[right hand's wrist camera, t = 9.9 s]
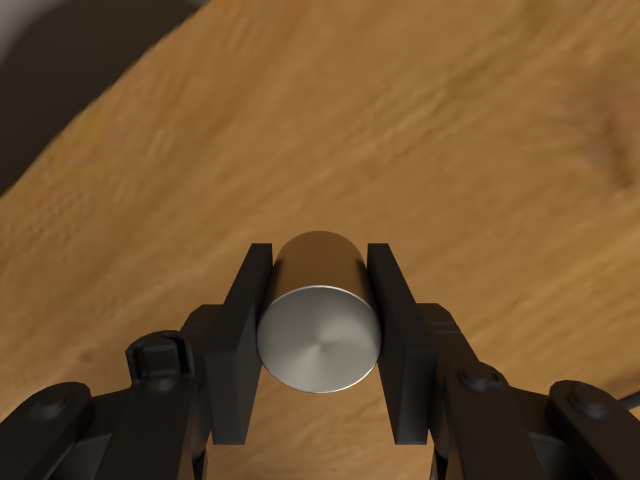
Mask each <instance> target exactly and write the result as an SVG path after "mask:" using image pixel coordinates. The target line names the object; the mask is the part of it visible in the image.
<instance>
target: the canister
mask: <svg viewBox="0 0 640 480" xmlns="http://www.w3.org/2000/svg"><path fill="white" fill-rule="evenodd" d="M383 339H384V336H383V329H382V325H381V321H380V317H379V314H378V310H377V306H376V303H375V299H374V296H373V292H372V288H371V285H370V281H369V277H368V274H367V270H366V266H365V263H364V260H363V257H362V255H361V253H360V252H359V250H358V249H357V248H356V246H355V245H354V244H353V243H352V242H350V241H349V240H348V239H346V238H344V237H343V236H341V235H338V234H336V233H332V232H327V231H312V232H307V233H303V234H301V235H298V236H296V237H295V238H293V239H291V240H290V241H289V242H287V243H286V244H285V245H284V246H283V248H282V249H281V250H280V252H279V253H278V255H277V257H276V260H275V263H274V266H273V270H272V273H271V277H270V280H269V284H268V287H267V291H266V295H265V298H264V302H263V305H262V309H261V312H260V316H259V319H258V323H257V327H256V348H257V353H258V355H259V358H260V360H261V362H262V364H263V365H264V367H265V368H266V369H267V371H268V372H269V373H270V374H271V375H272V376H273V377H274V378H276V379H277V380H278V381H280V382H281V383H283V384H285V385H286V386H289V387H291V388H293V389H296V390H300V391H304V392H309V393H329V392H335V391H339V390H342V389H345V388H348V387H350V386H352V385H354V384H356V383H357V382H359V381H360V380H362V379H363V378H364V377H366V376H367V375H368V374H369V373H370V371H371V370H372V369H373V368H374V366H375V365H376V363H377V361H378V359H379V357H380V354H381V352H382V348H383Z"/></svg>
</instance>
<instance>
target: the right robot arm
mask: <svg viewBox="0 0 640 480" xmlns="http://www.w3.org/2000/svg"><path fill="white" fill-rule="evenodd" d="M272 270H273V258H272V243H252V245H251V247H250V249H249V251H248V253H247V255H246V257H245V259H244V261H243V264H242V266H241V268H240V270H239V272H238V274H237V276H236V278H235V280H234V283H233V285H232V287H231V289H230V291H229V293H228V295H227V297H226V299H225V302H224V304H223V305H201V306H200V307H198V308H197V309H196V310H194V311H193V312H192V313H190V315H189V317H188V318H187V320H186V322H185V323H184V326H183V327H182V328H181V330H180V331H176V330H163V331H159V332H154V333H150V334H148V335H146V336H143V337H141V338H139V339H138V340H136V341H135V342H133V343H132V344H131V345H130V346H129V347H128V349H127V350H126V351H125V353H126V358H127V362H128V367H129V371H130V376H131V380H132V385H131V387H130V388H128V389H124V390H121V391H117V392H113V393H108V394H104V395H99V396H95V397H92V396H91V392H90V389H89V388H88V387H87V386H86V385H85V384H83V383H79V382H65V383H60V384H56V385H53V386H50V387H47V388H45V389H43V390H41V391H39V392H37V393H35V394H33V395H32V396H31V397H29V398H28V399H27V400H25V401H24V402H23V403H21V404H20V405H19V406H18V407H17V408H16V409H15V410H14V411H13V412H12V413H11V414H10V415H9V416H8V417H7V418H6V419H4V420H3V421H2V422H1V423H0V480H206V474H207V464H208V459H207V452H206V443H207V440H208V437H209V434H210V431H212V438H213V445H244V444H245V440H246V435H247V431H248V426H249V422H250V417H251V412H252V408H253V403H254V399H255V394H256V390H257V385H258V380H259V376H260V371H261V367H262V362H261V360H260V358H259V355H258V353H257V348H256V327H257V323H258V319H259V316H260V312H261V309H262V305H263V302H264V298H265V295H266V291H267V287H268V284H269V280H270V277H271V273H272ZM367 274H368V277H369V281H370V285H371V288H372V292H373V296H374V299H375V303H376V306H377V310H378V314H379V317H380V321H381V325H382V329H383V336H384V339H383V348H382V352H381V354H380V357H379V359H378V361H377V363H378V368H379V372H380V377H381V382H382V386H383V391H384V395H385V400H386V404H387V409H388V414H389V418H390V423H391V427H392V432H393V436H394V441H395V445H426V444H427V436H428V429H429V430H430V433H431V436H432V439H433V442H434V452H433V459H432V466H431V473H430V480H640V421H639V420H638V419H637V418H636V417H635V416H634V415H632V414H631V413H630V412H629V411H628V410H630V409H633V408H635V407H637V406H640V391H639V392H637V393H634V394H632V395H630V396H627V397H625V398H623V399H620V400H618V401H617V400H616V399H615V398H613V397H612V396H611V395H609V394H608V393H607V392H605V391H603V390H601V389H599V388H597V387H595V386H593V385H589V384H586V383H583V382H579V381H571V380H563V381H558V382H555V383H554V384H553V385H552V386H551V387H550V391H549V394H548V395H543V394H539V393H534V392H530V391H525V390H521V389H518V388H514V387H511V386H509V384H508V382H507V380H506V379H505V378H504V376H503V375H502V374H501V373H500V372H499V371H497V370H496V369H495V368H493V367H491V366H489V365H487V364H485V363H483V362H480V361H479V360H478V358H477V357H476V355H475V353H474V352H473V350H472V348H471V347H470V345H469V343H468V342H467V340H466V339H465V337H464V335H463V334H462V333H461V330H460V329H459V327H458V325H456V322H455V321H454V319H453V317H452V316H451V314H450V312H448V311H447V310H446V309H444V308H443V307H442V306H440V305H439V304H438V303H416V302H415V300H414V298H413V296H412V294H411V292H410V289H409V287H408V285H407V283H406V281H405V279H404V277H403V275H402V273H401V270H400V268H399V266H398V264H397V262H396V260H395V258H394V256H393V254H392V251H391V249H390V247H389V245H388V243H368V252H367Z"/></svg>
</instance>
